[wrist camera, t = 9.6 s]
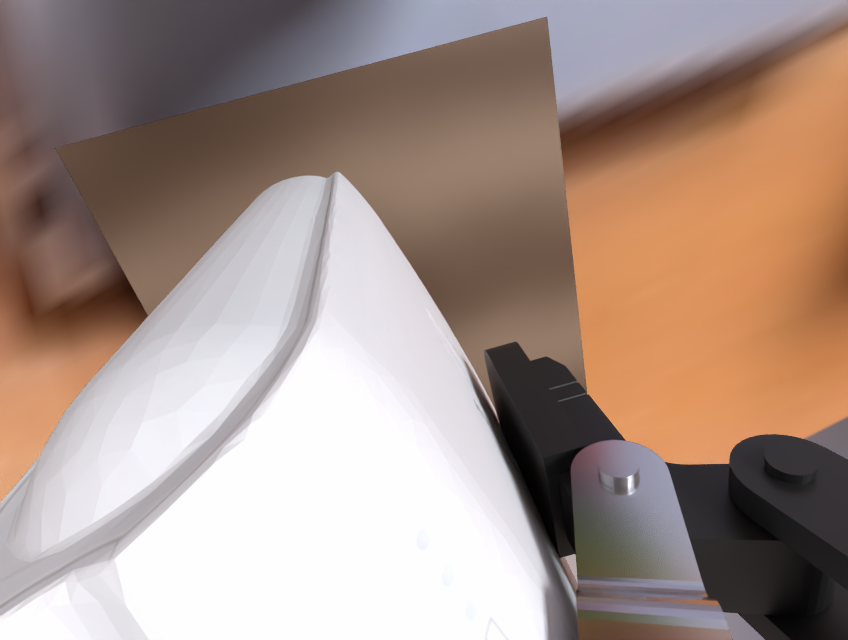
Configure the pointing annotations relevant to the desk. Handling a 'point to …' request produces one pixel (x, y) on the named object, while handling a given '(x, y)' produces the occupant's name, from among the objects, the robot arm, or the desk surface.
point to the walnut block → (374, 182)
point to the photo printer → (284, 461)
